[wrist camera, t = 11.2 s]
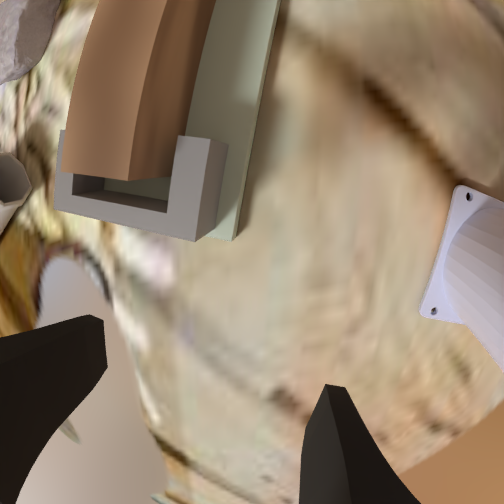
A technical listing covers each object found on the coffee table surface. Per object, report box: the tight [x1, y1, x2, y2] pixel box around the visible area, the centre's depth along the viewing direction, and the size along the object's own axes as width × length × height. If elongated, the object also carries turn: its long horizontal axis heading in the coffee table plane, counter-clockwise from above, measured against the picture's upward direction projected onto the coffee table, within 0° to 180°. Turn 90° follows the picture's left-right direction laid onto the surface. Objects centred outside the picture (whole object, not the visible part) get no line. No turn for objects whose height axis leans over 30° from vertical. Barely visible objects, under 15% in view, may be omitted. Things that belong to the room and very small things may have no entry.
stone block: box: [0, 0, 60, 85], centre depth 15 cm, size 12×5×10 cm
